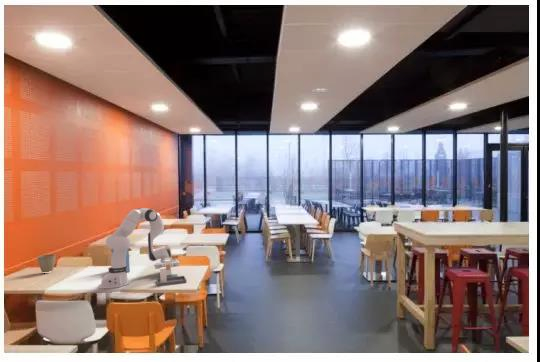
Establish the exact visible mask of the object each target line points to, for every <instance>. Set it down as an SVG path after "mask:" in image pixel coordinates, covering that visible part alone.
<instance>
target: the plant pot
mask: <svg viewBox="0 0 540 362" xmlns="http://www.w3.org/2000/svg"><path fill="white" fill-rule="evenodd" d="M56 256H57V255H56V254H55V253H53V254H52V253H51V254H50V253H49V254H48V253H47V254H43V255H42V254H41V255H38V256H37V263H38V265H39V266H38V267H40V268H39V269H40V271H41V273H42V272H49V271H52V272H53V270H54V267H55V263H56V259H57V258H56Z"/></svg>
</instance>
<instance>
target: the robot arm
mask: <svg viewBox="0 0 540 362" xmlns="http://www.w3.org/2000/svg"><path fill="white" fill-rule="evenodd" d="M140 221H143V222H148V223H149V225H150V226H149V227H150V230H149V232H148V233H147V244H148V246H147V247H148V254H147V257H148V259H149V261H152V262H155V261H157V260H160V261H159V262H156V263H155V264H154V265H153V266H154V269H156V270H160V268H162V267H165V260H169V259H170V260H171V268H176V267H180V262H179V260H178V259H177V258H171V257H172V255H171V254H172V253H171V250H170V248H169V247H168V246H166V245H163V246H160V247H157V248H154V240H155V239H156V238H157V237H159V236H160V235H161V234H162V233H163V232H164V228H165V225H164V221H163V219H162V216H161V214H160V213H159V212H157V211H156V210H154V209H152V208H147V207H139V208H136V209H131V211H129V212H128V214H127V215H126V216H125V218H124V219H123V221H122V222H121V223H120V225H119V227H117V228H116V229H115V231H114V232H113V233H112V234H111V235H108V236H107V238H106V239H105V246H107V247H108V248H109V249H114V252H113V256H112V255H111V256H110V257H111V258H110V263H111V264H110V266H109V267H107V270H108V273H107V274H106V275H105V276H103V277H102V279H101V282H100V284H98V287H99V288H98V287H97V288H98V289H100V290H101V289H102V290H103V289H113V288H122V287H123V286H126V285H129V284H130V282H129V278H128V274H127V273H128V272H127V266H126V253H127V249H128V248H129V247H130V246H131V240H130V239H129V238H128V237H129V236H131V235H132V233H134V231H135V229H137V226H138V225H139V222H140ZM129 249H130V248H129Z"/></svg>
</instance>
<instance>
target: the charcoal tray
mask: <svg viewBox="0 0 540 362" xmlns="http://www.w3.org/2000/svg"><path fill="white" fill-rule="evenodd" d="M155 280H156V284H157V287H161V286H170V285H177V284H185V283H187V279H186V276H185V275H178V277H170V278H167V282H163V283H160V279H158V278H156V279H155Z"/></svg>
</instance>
